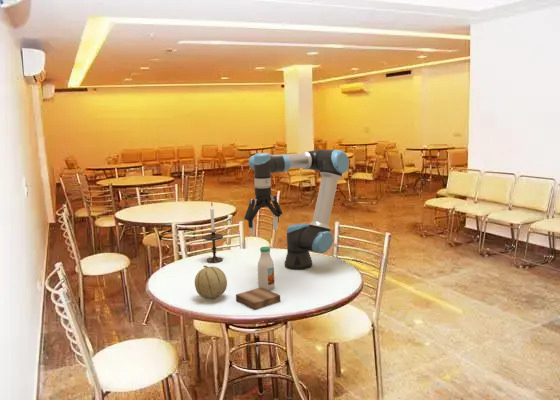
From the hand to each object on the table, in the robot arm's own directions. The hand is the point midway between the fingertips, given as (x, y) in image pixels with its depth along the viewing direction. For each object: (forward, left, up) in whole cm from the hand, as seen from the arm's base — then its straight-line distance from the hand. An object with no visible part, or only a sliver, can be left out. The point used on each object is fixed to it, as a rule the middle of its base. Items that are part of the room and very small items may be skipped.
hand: (264, 232), depth 230 cm
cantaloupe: (+26, -7, -28) cm, 38 cm away
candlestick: (-6, -57, -28) cm, 64 cm away
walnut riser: (+13, +11, -27) cm, 32 cm away
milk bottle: (0, 0, -28) cm, 28 cm away
